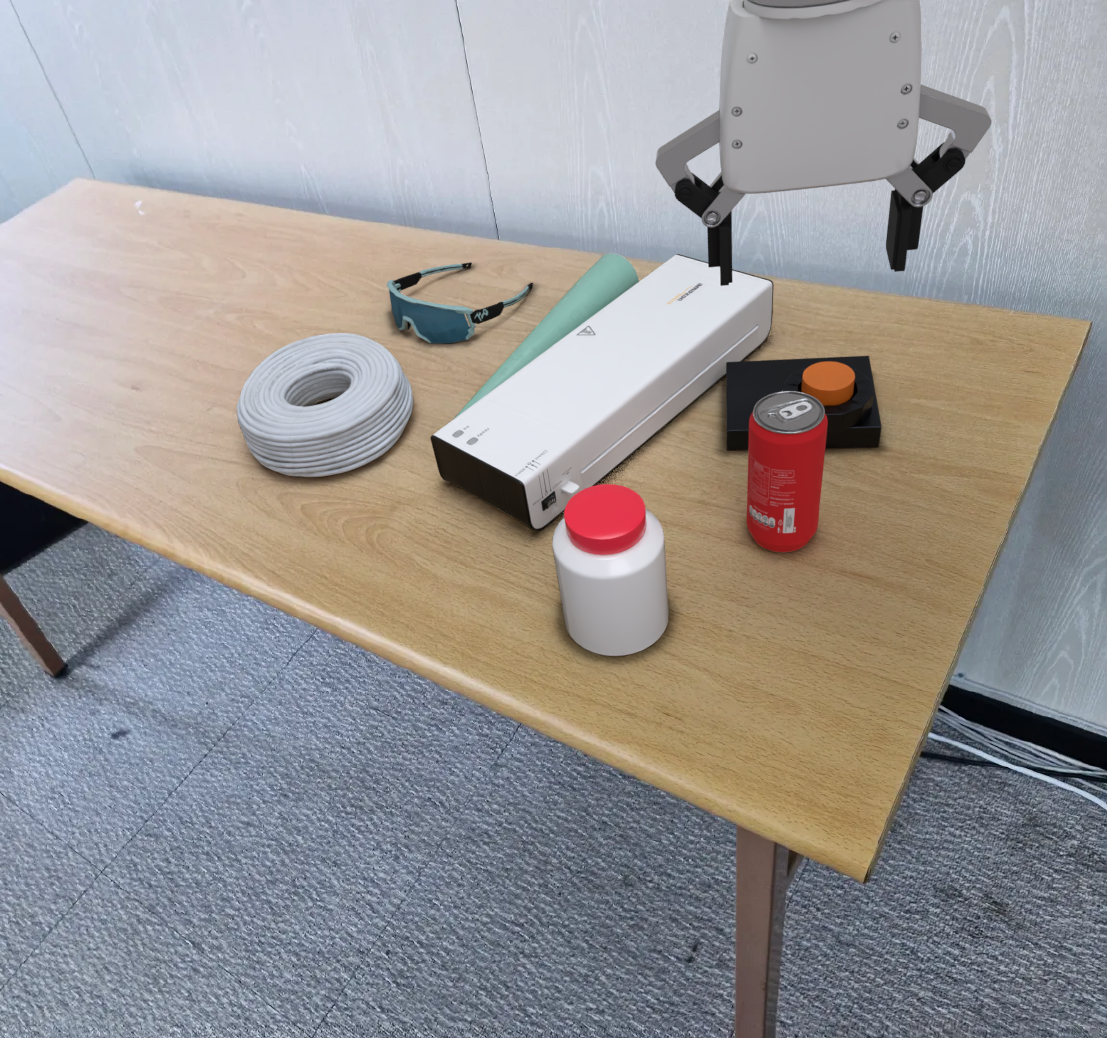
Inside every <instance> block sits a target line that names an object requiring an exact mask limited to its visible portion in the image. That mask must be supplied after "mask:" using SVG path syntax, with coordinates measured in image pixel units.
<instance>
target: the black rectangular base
mask: <svg viewBox="0 0 1107 1038" xmlns="http://www.w3.org/2000/svg"><path fill="white" fill-rule="evenodd" d="M826 361H831V362H839V363H842V364H845V365H847V366H849V367H850V368H851V369H852V370H853V371H854V373H855V382H854V390H853V395H852V397H851V399H850V400H849V401H847V402H845V403H843V404H840V405H833V406H823V407H824V409H825V414H826V416H827V420H828V425H827V436H826V446H825V449H858V448H859V449H862V448H863V449H864V448H865V449H866V448H879V447H880V441H881V433H882V422H881V417H880V411H879V405H878V399H877V393H876V388H875V383H874V377H873V371H872V364H871V359H870V356H869V355H850V356H849V355H848V356H832V357H831V356H830V357H829V356H828V357H805V358H787V359H786V358H785V359H765V360H764V359H762V360H743V361H738V362H727V363H726V375H725V405H726V406H725V407H726V408H725V411H726V413H725V414H726V415H725V418H726V419H725V420H726V421H725V423H726V425H725V428H726V430H725V431H726V433H725V434H726V439H725V440H726V441H725V442H726V443H725V444H726V451H748V445H749V419H750V416H751V414H752V412H753V409H754V407H755V405H756V403H757V402H758V401H759V400H761V399H762V398H764V397H765V396H767V395H770V394H773V393H777V392H783V391H796V392H801V390H802V376H803V372H804V371H805V369H806V368H808V367H809V366H811V365H813V364H815V363H819V362H826Z"/></svg>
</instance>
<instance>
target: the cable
mask: <svg viewBox="0 0 1107 1038" xmlns="http://www.w3.org/2000/svg"><path fill="white" fill-rule="evenodd" d="M329 399H331V400H329ZM326 400H328V401H326ZM323 401H326V402H323ZM320 402H323V403H320ZM318 403H319V404H318ZM413 409H414V396H413V388H412V385H411V382H410V380H409V378H408V377H407V375H406V374H405V372H404V371H403V368H402V366H401V364H400V362H399V361H398V360H397V359H396V357H395V356H394V354H392V352H390V350H389V349H387V348H386V347H385V346H383V345H382V344H381V343H379V342H377V341H375V340H374V339H373V340H372V339H371V338H369V337H367V336H364V335H361V334H357V333H350V332H333V333H324V334H317V335H312V336H308V337H304V338H301V339H298V340H295V341H292V342H290V343H288V344H286V345H283V346H281V347H280V348H279V349H277V350H275V351H273V352H272V353H270V354H269V355H268V356H267V357H266V358H264V359H263V360H262V361H261V362H260V363H259V364H258V365H257V366H256V367H255V368H254V369H253V371H252V372H251V373H250V374H249V376H248V378H247V379H246V380H245V383H244V384H243V386H242V389H241V391H240V393H239V398H238V400H237V403H236V420H237V423H238V425H239V428H240V430H241V433H242V435H243V439H244V441H245V443H246V445H247V448H248V450H249V452H250V453H251V455H252V456H253V457H254V458H255V459H256V460H257V462H259V464H261V465H262V466H263V467H265V468H267V469H268V470H271V471H273V472H276V473H279V474H282V475H285V476H288V477H289V476H290V477H302V478H318V477H327V476H333V475H339V474H343V473H346V472H350V471H352V470H355V469H358V468H360V467H363V466H365V465H367V464H369V463H371V462H373V461H374V460H376V459H378V458H380V457H381V456H383V455H384V454H385V453H387V452H388V451H389V450H390V449H391V448H392V447H393V446H394V445H395V444H397V441H399V439H400V438H401V436H402V434H403V432H404V431H405V428H406V426H407V424H408V422H409V420H410V418H411V416H412V412H413Z"/></svg>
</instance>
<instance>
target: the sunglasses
mask: <svg viewBox="0 0 1107 1038" xmlns="http://www.w3.org/2000/svg"><path fill="white" fill-rule="evenodd" d="M472 265H473V262H471V261H470V262H464V263H463V262H462V263H454V264H453V263H452V264H446V265H440V266H434V267H430V268H425V269H422V270H420V271H417V272H414V273H411V274H407V275H405V276H402V277H399V278H396V279H389V280H388V281H387V282H386V287H387V289H388V293H389V301H390V307H391V312H392V316H393V319H394V322H395V325H396V327H397V329H398V330H399V331H404V330H405V329H407V331H409V330H410V329H411V327H412V329H413V330H414V332H415V334H416V336H417V337H418V338H421V339H422V340H424V341H425V342H427V343H429V344H452V343H458V342H462V341H468V340H469V339H470V338H472V336H474V335H475V333H476V332H475V331H476V330H475V329H476V328H477V326H476V324H477V325H480V324H482V323H483V324H484V323H485V322H488V321H491V320H493V319H495V318H497V317H499V316H501V315H502V313H503V311H504V309H506V308H508V307H511V306H514V305H515V304H517V303H518V302H521V300H523V299H524V298H525V297H526V296H527V294H528V293H529V292H530V291H531V290H532V289H533V286H534V282H530V283H529V284H527V285H526V286H525V288H524V289H522V291H520V292H519V293H518V294H516V295H515V296H513V297H511V298H508V299H505V300H502V301H499V302H497V303H494V304H491V305H489V306H486V307H483V308H478V309H475V310H474V309H473V308H469V307H467V306H464V305H452V304H443V303H437V302H431V301H425V300H420V299H417V298H413V297H410V296H408V295H405V294H403V293H402V291H404V290H406V289H409V288H411V287H413V286H415V285H416V286H417V284H418V283H419V282H420V280H421V279H422V278H425V277H428V276H431V275H435V274H439V273H443V272H451V271H459V270H465V269H471V266H472Z"/></svg>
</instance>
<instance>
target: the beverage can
mask: <svg viewBox="0 0 1107 1038" xmlns="http://www.w3.org/2000/svg"><path fill="white" fill-rule="evenodd" d="M827 425H828V420H827V416H826V414H825V409H824V407H823V405H822V403H821V402H820V401H819V400H818V399H816V398H815V397H813V396H811V395H808V394H805V393H802V392H796V391H783V392H777V393H773V394H770V395H767V396H765V397H764V398H762V399H761V400H759V401H758V402H757V403H756V405H755V407H754V409H753V412H752V414H751V416H750V419H749V445H748V450H747V451H748V452H747V484H746V485H747V487H746V528H747V530H748V532H749V533H750V534H751V537H752V540H753V541H754V542H755V543H756V545H758V546H759V547H760V548H762V549H763V550H766V551H769V552H771V553H779V554H786V553H793V552H796V551H799V550H801V549H803V548H804V547H806V546H807V545H808V544H809V543H810V541H811V539H812V538H813V536H814V535H815V534H816V532H817V530H818V527H819V519H820V508H821V499H822V497H821V496H822V487H823V476H824V468H825V467H824V466H825V456H826V448H825V446H826V436H827Z"/></svg>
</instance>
